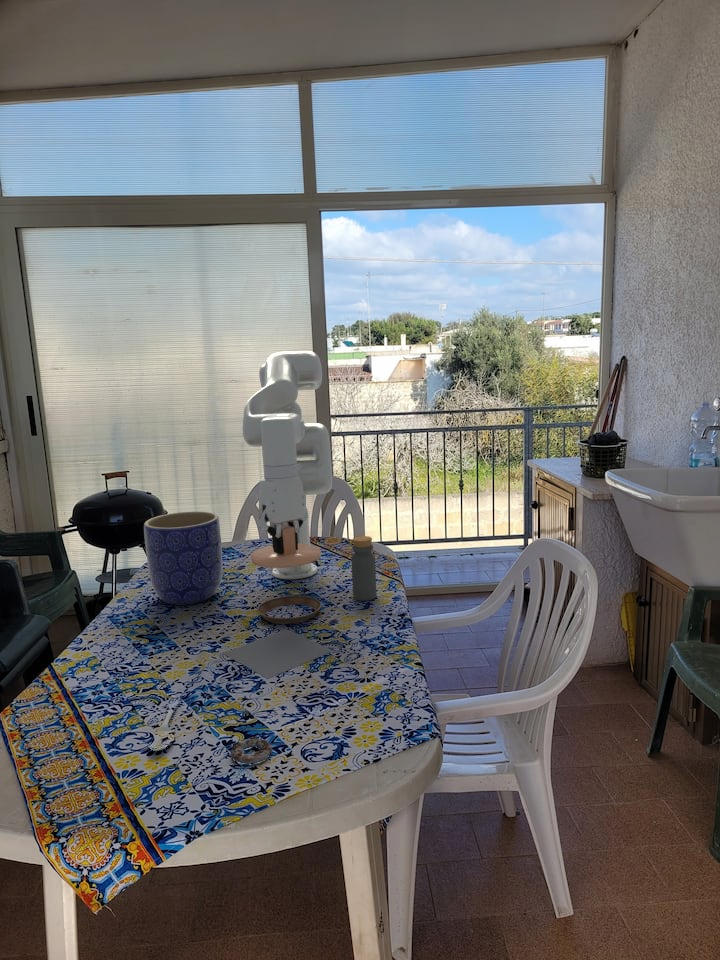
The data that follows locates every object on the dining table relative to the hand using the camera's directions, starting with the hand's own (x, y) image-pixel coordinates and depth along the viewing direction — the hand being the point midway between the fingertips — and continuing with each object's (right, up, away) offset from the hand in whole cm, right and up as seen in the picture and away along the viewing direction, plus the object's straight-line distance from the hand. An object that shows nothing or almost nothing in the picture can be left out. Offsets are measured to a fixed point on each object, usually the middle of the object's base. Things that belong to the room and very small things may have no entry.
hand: (285, 550), depth 149 cm
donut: (0, -26, -51) cm, 57 cm away
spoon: (-15, -25, -40) cm, 49 cm away
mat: (0, -19, -17) cm, 26 cm away
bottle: (+18, -13, +13) cm, 26 cm away
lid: (0, -2, 0) cm, 2 cm away
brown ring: (+1, -16, +3) cm, 16 cm away
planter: (-27, -14, +18) cm, 35 cm away
